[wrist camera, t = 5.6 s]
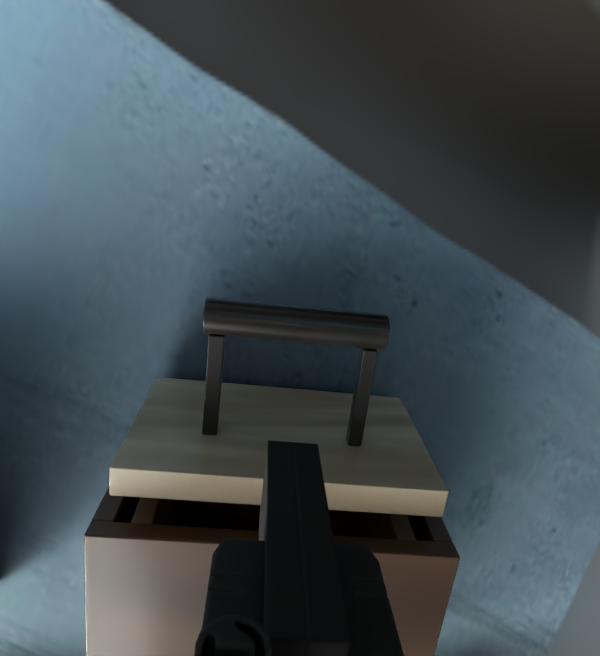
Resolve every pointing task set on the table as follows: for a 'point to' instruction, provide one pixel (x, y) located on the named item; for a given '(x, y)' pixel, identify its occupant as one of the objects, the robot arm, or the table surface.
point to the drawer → (277, 434)
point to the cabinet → (194, 570)
